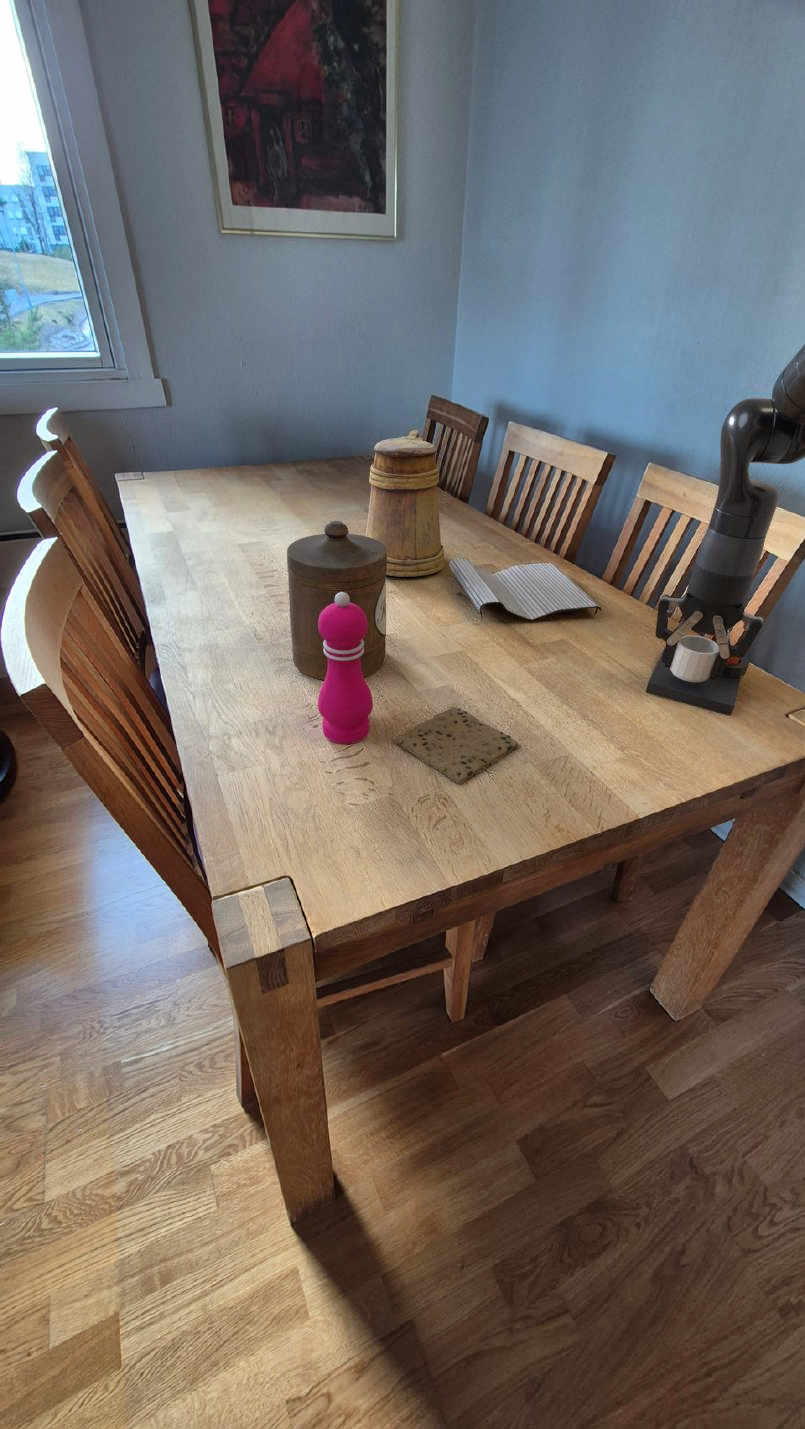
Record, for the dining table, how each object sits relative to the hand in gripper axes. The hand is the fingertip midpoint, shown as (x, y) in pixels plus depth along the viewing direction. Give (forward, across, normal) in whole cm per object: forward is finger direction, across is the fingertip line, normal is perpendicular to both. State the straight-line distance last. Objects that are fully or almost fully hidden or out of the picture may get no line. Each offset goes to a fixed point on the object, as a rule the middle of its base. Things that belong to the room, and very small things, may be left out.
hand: (690, 670), depth 94 cm
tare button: (0, +5, +7) cm, 8 cm away
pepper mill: (+4, -38, -36) cm, 52 cm away
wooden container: (+4, -50, -20) cm, 54 cm away
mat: (+4, -34, +19) cm, 39 cm away
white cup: (+1, 0, 0) cm, 1 cm away
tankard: (+4, -63, +24) cm, 67 cm away
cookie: (+3, -24, -31) cm, 39 cm away
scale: (+3, +1, +3) cm, 5 cm away
